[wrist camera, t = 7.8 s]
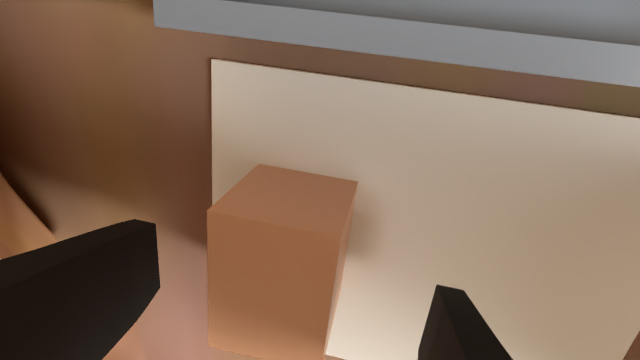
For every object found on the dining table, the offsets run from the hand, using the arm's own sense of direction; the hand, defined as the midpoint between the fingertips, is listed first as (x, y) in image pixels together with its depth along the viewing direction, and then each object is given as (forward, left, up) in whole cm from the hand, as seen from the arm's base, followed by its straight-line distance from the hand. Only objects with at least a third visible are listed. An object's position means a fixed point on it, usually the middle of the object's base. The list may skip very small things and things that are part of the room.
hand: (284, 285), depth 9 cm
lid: (-3, 0, -3) cm, 5 cm away
